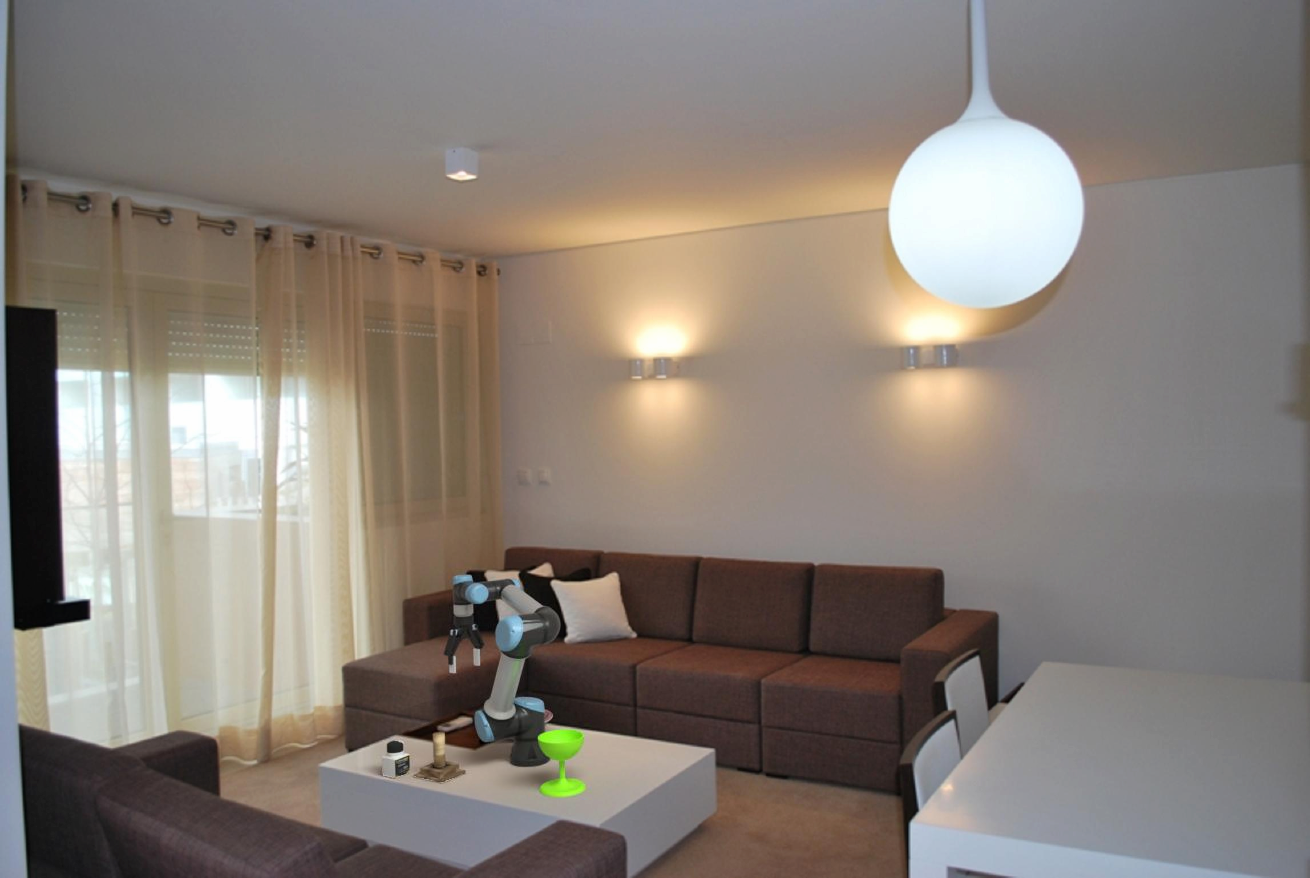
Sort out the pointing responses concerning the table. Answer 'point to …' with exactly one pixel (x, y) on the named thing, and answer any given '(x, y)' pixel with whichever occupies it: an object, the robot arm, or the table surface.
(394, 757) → the medicine bottle
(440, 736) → the oak dowel
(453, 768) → the brown stepped square base
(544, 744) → the wineglass
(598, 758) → the table surface
